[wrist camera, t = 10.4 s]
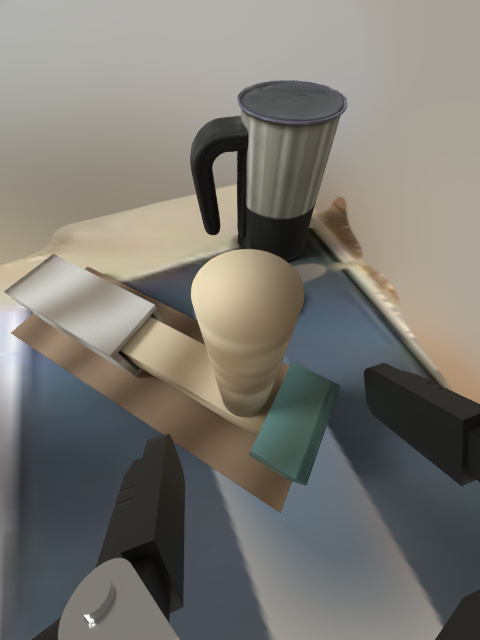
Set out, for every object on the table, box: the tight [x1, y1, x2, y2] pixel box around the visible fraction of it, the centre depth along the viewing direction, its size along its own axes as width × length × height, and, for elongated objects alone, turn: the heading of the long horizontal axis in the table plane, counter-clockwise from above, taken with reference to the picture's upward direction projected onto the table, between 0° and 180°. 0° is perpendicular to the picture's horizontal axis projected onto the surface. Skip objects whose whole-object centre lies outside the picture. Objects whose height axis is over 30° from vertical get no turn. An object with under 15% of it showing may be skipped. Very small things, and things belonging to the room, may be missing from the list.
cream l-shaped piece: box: [118, 249, 305, 437], centre depth 14 cm, size 18×3×15 cm, turn 61°
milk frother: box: [190, 80, 347, 261], centre depth 24 cm, size 14×16×15 cm
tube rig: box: [4, 254, 340, 512], centre depth 21 cm, size 29×10×7 cm, turn 61°
